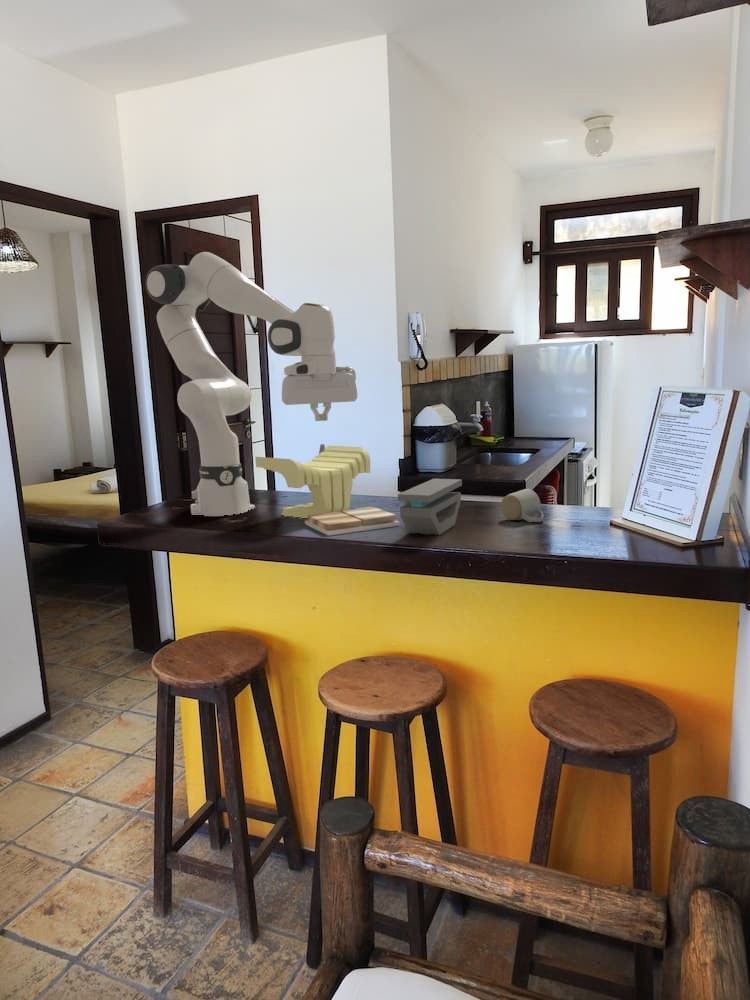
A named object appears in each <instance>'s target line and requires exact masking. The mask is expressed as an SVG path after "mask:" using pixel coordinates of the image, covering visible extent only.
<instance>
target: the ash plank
mask: <svg viewBox="0 0 750 1000" xmlns="http://www.w3.org/2000/svg"><path fill="white" fill-rule="evenodd" d="M342 513H344V514H346V515H349V516H351V517H354V518H356V519H359V520H361V524H362V525H371V524H377V523H383V522H389V521H395V520H396V521H397V514H395V513H391V512H388V511H386V510H385V509H384V510H383V509H381V508H378V507H374V506H366V507H359V508H353V509H349V510H345V511H342Z"/></svg>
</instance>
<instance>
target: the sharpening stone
mask: <svg viewBox="0 0 750 1000" xmlns="http://www.w3.org/2000/svg"><path fill="white" fill-rule="evenodd" d="M462 485H463V479H459V478H458V479H457V478H432V479H429V480H428V481H425V482H423V483H420V484H417V485H416V486H413V487H410V488H409V489H406V490H405V491H402V492H400V493H398V494H397V501H399V502H408V503H405V504H404V505H401V506H400V507H399V510H400V512H399V513H400V515H399V516H400V518H401V520H402V522H403V523H404V525H405V527H406V529H407V531H408V532H409V534H417V533H420V534H419V535H421V534H422V535H431V534H434V536H441V535H443V534H444V533H445V532H446V530H447V531H448V530H450V529H451V528H452V526H453V527H454V526H455V524H456V521H457V517H458V512H459V509H460V505H461V500H462V496H461V495H462V494H461V492H456V491H455V492H452V491H454V490H455V489H458V488H459V487H462ZM449 528H450V529H449ZM443 532H444V533H443ZM440 534H441V535H440Z"/></svg>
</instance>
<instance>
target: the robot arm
mask: <svg viewBox="0 0 750 1000" xmlns="http://www.w3.org/2000/svg"><path fill="white" fill-rule="evenodd" d="M145 289H146V292H147V294H148V296H149V297H150V298H151V299H152V301H155V302H156V303H159V304H162V307H161V308H160V309H159V310H157V311H158V312H157V314H156V321H157V326H158V329H159V331H160V334H161V337H162V339H163V341H164V344H165V345H166V347H167V349H168V351H169V353H170V355H171V357H172V359H173V361H174V363H175V365H176V367H177V368H178V370H179V371H180V373H182V374H183V375H184V376H187V377H188V378H190V379H191V380H190V381H188V382H185V383H183V384H182V385H181V386H180V387H179V389H178V392H177V399H176V400H177V405H178V407H179V410H180V411H181V413H183V414H184V415H185V416H187V417H188V419H189V420H190V422H191V424H192V426H193V428H194V430H195V433H196V436H197V439H198V445H199V455H200V465H199V477H200V480H199V482H198V484H197V486H196V489H194V490H192V491H191V499H193V500H195V501H194V503H191V504H190V515H191V514H192V515H204V516H203V517H225V516H224V515H228V516H233V514H235V515H240V513H241V514H244V513H247V512H248V510H249V511H251V509H252V510H254V508H255V509H256V505H255V504H252V503H250V494H249V486H248V482H247V481H246V479H244V478H243V477H242V476H243V468H242V463H241V462H240V450H239V449H240V447H239V446H240V445H239V438H238V436H237V434H236V433H235V432H233V431H232V430H231V428H230V427H229V424H228V421H227V417H229V416H234V415H237V414H240V413H241V412H243V411H245V410H247V409H248V408H249V407H250V404H251V402H252V391H251V389H250V387H249V385H248V384H247V383H246V382H245V381H243V380H242V379H240V378H238V377H237V376H236V375H234V373H233V372H231V370H230V369H228V367H227V366H226V365H225V364H224V363H223V362H222V361H221V359H219V357H218V355H216V353H215V352H214V350H213V348H212V346H211V345H210V343H209V341H208V339H207V337H206V336H205V334H204V331H203V330H202V328H201V326H200V324H199V323H198V320H197V319H196V313H202V312H203V311H205V309H206V307H207V306H208V305H210V304H211V303H212V302H213V303H214V304H215V305H216V306H218V307H220V308H222V309H224V310H225V311H228V312H230V313H234V314H239V315H243V316H252V317H256V318H258V319H262V320H264V321H266V322H267V323H269V324H270V326H269V329H268V331H267V341H268V345H269V347H270V349H271V350H272V351H273V352H274V353H275V354H277V355H280V356H290V357H291V356H292V357H301V358H300V359H301V361H298V362H295V363H293V364H291V365H290V364H289V365H288V366H285V367H284V368H283V374H284V375H285V377H284V378H283V380H282V384H281V401H282V403H283V404H284V405H285V406H286V405H287V406H296V405H309V406H310V410H311V411H312V413H313V415H314V420H315V422H326V421H328V419H329V418H328V415H329V413H330V410H331V408H332V403H348V402H356V401H357V399H358V390H357V389H358V388H357V383H356V379H357V376H356V375H357V374H356V371H355V370H354V369H353V368H352V367H350V366H337V362H336V361H337V360H336V352H335V348H334V347H335V346H334V342H335V337H336V336H335V335H336V334H335V325H334V324H335V323H334V316H333V312H332V311H331V308H330V307H329V306H328V305H324V304H318V303H312V302H311V303H310V302H304V303H302V304H301V305H300V306H299V307H298V309H297V310H295V311H294V310H292V309H291V308H289V307H288V306H287V305H285V304H284V303H282V302H280V301H279V300H278V299H276V298H274V297H273V296H271V294H269V293H268V292H266V291H265V290H264V289H262V288H261V287H260V286H258V285H257V284H256V283H254V281H252V280H251V279H250V278H248V277H247V276H246V275H245V274H244V273H242V272H241V270H239V269H238V268H237V267H235V266H234V265H233V264H231V263H230V262H228V261H226V260H225V259H223V258H221V257H220V256H218V255H216V254H214V253H212V252H209V251H202V252H199V253H197V254H195V255H194V256H193V257H192V259H191V260H190V261H189V264H187V265H184V264H180V265H179V264H171V263H170V264H169V263H168V264H167V263H166V264H160V265H156V266H153V267H151V268H150V269H149V271H148V272H147V274H146V276H145ZM319 404H323V405H322V407H323V408H324V410H323V412H322V413H320V412H319V410H318V409H317V408H319ZM226 416H227V417H226ZM192 515H191V516H192Z"/></svg>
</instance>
